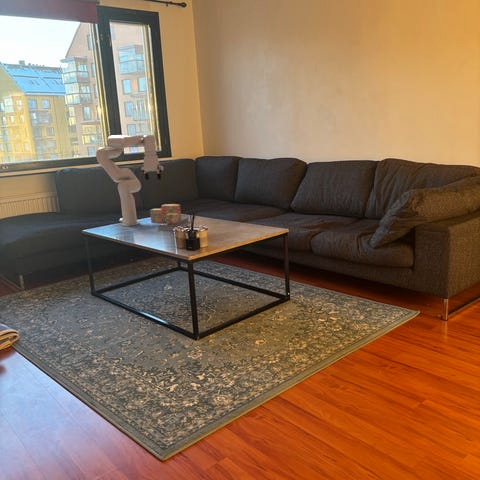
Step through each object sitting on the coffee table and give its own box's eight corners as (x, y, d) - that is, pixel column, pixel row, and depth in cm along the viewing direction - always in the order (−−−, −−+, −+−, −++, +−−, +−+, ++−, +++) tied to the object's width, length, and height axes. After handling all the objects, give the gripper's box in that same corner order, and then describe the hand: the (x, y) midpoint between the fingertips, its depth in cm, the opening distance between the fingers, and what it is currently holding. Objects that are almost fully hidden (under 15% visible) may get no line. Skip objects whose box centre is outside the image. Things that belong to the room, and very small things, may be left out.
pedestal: (167, 225, 326) (166, 214, 325) (171, 223, 332) (170, 212, 330) (174, 225, 324) (173, 214, 322) (179, 223, 329) (178, 213, 328)
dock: (158, 230, 324) (157, 222, 323) (171, 225, 338) (170, 217, 337) (176, 230, 318) (176, 222, 317) (188, 225, 333) (188, 217, 331)
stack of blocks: (151, 222, 354) (149, 205, 351) (154, 220, 360) (153, 204, 357) (178, 222, 348) (176, 205, 345) (181, 220, 354) (180, 203, 351)
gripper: (136, 154, 327) (139, 180, 331) (158, 153, 320) (161, 180, 324) (143, 154, 334) (145, 179, 337) (164, 153, 327) (167, 178, 330)
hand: (153, 179), depth 331 cm, fingers open, 9 cm apart
